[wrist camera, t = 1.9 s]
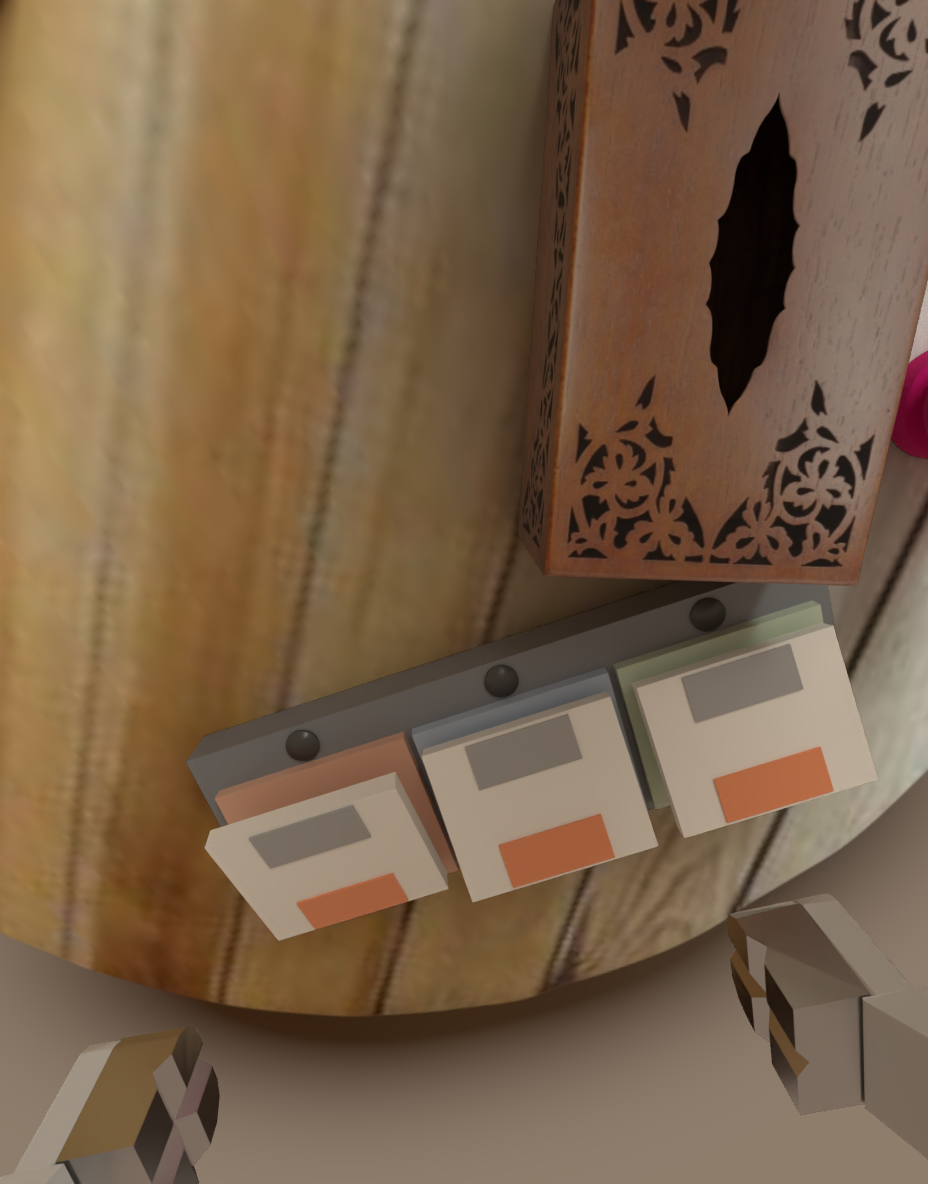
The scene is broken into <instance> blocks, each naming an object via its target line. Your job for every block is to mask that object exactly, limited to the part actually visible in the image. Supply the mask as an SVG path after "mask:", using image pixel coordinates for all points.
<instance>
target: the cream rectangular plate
mask: <svg viewBox="0 0 928 1184" xmlns="http://www.w3.org/2000/svg"><path fill="white" fill-rule="evenodd" d="M421 757H422V760H423V763H424V765H425V768H426V771H427V774H428V777H429V780H430V783H431V785H432V788H433V791H434V794H435V797H436V800H437V803H438V805H439V808H440V811H441V814H442V817H443V820H444V823H445V825H446V828H447V831H448V834H449V837H450V840H451V843H452V845H453V848H454V851H455V854H456V857H457V860H458V863H459V865H460V868H461V871H462V874H463V877H464V880H465V883H466V886H467V888H468V891H469V894H470V897H471V900H472V903H473V902H476V901H480V900H483V899H486V898H489V897H493V896H496V895H499V894H503V893H506V892H509V891H513V890H516V889H519V888H523V887H526V886H529V885H532V884H536V883H539V882H542V881H546V880H549V879H552V878H556V877H559V876H562V875H565V874H569V873H572V872H575V871H579V870H582V869H585V868H589V867H592V866H595V865H598V864H602V863H605V862H608V861H612V860H615V859H618V858H622V857H625V856H628V855H632V854H635V853H638V852H641V851H645V850H648V849H651V848H655V847H658V843H657V840H656V837H655V834H654V831H653V827H652V824H651V821H650V818H649V815H648V812H647V809H646V806H645V803H644V800H643V796H642V793H641V790H640V787H639V784H638V781H637V778H636V775H635V772H634V769H633V765H632V762H631V759H630V756H629V753H628V750H627V747H626V744H625V741H624V738H623V734H622V731H621V728H620V725H619V722H618V719H617V716H616V713H615V710H614V707H613V703H612V700H611V697H610V696H609V694H608V693H607V692H606V691H605V692H602V693H599V694H595V695H592V696H589V697H586V698H583V699H580V700H577V701H573V702H570V703H567V704H564V705H561V706H558V707H555V708H551V709H548V710H545V711H542V712H539V713H536V714H533V715H530V716H526V717H523V718H520V719H517V720H514V721H511V722H508V723H504V724H501V725H498V726H495V727H492V728H489V729H486V730H482V731H479V732H476V733H473V734H470V735H467V736H464V737H460V738H457V739H454V740H451V741H448V742H445V743H442V744H439V745H435V746H432V747H429V748H426V749H423V753H422V756H421Z"/></svg>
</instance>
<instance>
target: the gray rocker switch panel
mask: <svg viewBox="0 0 928 1184" xmlns="http://www.w3.org/2000/svg"><path fill="white" fill-rule="evenodd" d="M818 623H825V624H829V625H833V626H834V621H833V615H832V609H831V603H830V597H829V591H828V585H812V584H780V583H748V582H716V581H684V580H681V581H678V582H675V583H672V584H669V585H666V586H663V587H659V588H656V589H653V590H650V591H647V592H644V593H641V594H638V595H635V596H632V597H629V598H626V599H623V600H620V601H617V602H614V603H611V604H607V605H604V606H601V607H598V608H595V609H592V610H589V611H586V612H583V613H580V614H577V615H574V616H571V617H568V618H565V619H562V620H558V621H555V622H552V623H549V624H546V625H543V626H540V627H537V628H534V629H531V630H528V631H525V632H522V633H519V634H516V635H513V636H510V637H506V638H503V639H500V640H497V641H494V642H491V643H488V644H485V645H482V646H479V647H476V648H473V649H470V650H467V651H464V652H461V653H457V654H454V655H451V656H448V657H445V658H442V659H439V660H436V661H433V662H430V663H427V664H424V665H421V666H418V667H415V668H412V669H409V670H405V671H402V672H399V673H396V674H393V675H390V676H387V677H384V678H381V679H378V680H375V681H372V682H369V683H366V684H363V685H360V686H357V687H353V688H350V689H347V690H344V691H341V692H338V693H335V694H332V695H329V696H326V697H323V698H320V699H317V700H314V701H311V702H308V703H304V704H301V705H298V706H295V707H292V708H289V709H286V710H283V711H280V712H277V713H274V714H271V715H268V716H265V717H262V718H259V719H256V720H252V721H249V722H246V723H243V724H240V725H237V726H234V727H231V728H228V729H225V730H222V731H219V732H216V733H213V734H210V735H207V736H204V737H203V739H202V740H201V741H200V743H199V744H198V746H197V747H196V748H195V750H194V751H193V753H192V754H191V755H190V757H189V758H188V759H187V761H186V763H187V765H188V767H189V768H190V770H191V772H192V774H193V776H194V778H195V780H196V781H197V783H198V785H199V787H200V789H201V791H202V793H203V795H204V796H205V798H206V800H207V802H208V804H209V806H210V808H211V809H212V811H213V813H214V815H215V817H216V819H217V821H218V822H219V824H220V826H221V827H223V826H226V825H229V824H232V823H235V822H239V821H242V820H245V819H248V818H251V817H254V816H257V815H261V814H264V813H267V812H270V811H273V810H276V809H279V808H283V807H286V806H289V805H292V804H295V803H298V802H302V801H305V800H308V799H311V798H314V797H317V796H320V795H324V794H327V793H330V792H333V791H336V790H339V789H342V788H346V787H349V786H352V785H355V784H358V783H361V782H365V781H368V780H371V779H374V778H377V777H380V776H383V775H387V774H390V773H393V772H396V774H397V776H398V778H399V780H400V782H401V784H402V786H403V788H404V789H405V791H406V793H407V795H408V797H409V799H410V801H411V803H412V805H413V807H414V809H415V811H416V813H417V815H418V817H419V819H420V820H421V822H422V824H423V826H424V828H425V830H426V832H427V834H428V836H429V838H430V840H431V842H432V844H433V846H434V848H435V849H436V851H437V853H438V855H439V857H440V859H441V861H442V863H443V865H444V867H445V869H446V871H447V874H449V873H452V872H455V871H458V868H460V865H459V863H458V860H457V857H456V854H455V851H454V848H453V845H452V843H451V840H450V837H449V834H448V831H447V828H446V825H445V823H444V820H443V817H442V814H441V811H440V808H439V805H438V803H437V800H436V797H435V794H434V791H433V788H432V785H431V783H430V780H429V777H428V774H427V771H426V768H425V765H424V763H423V760H422V757H421V756H422V753H423V749H426V748H429V747H432V746H435V745H439V744H442V743H445V742H448V741H451V740H454V739H457V738H460V737H464V736H467V735H470V734H473V733H476V732H479V731H482V730H486V729H489V728H492V727H495V726H498V725H501V724H504V723H508V722H511V721H514V720H517V719H520V718H523V717H526V716H530V715H533V714H536V713H539V712H542V711H545V710H548V709H551V708H555V707H558V706H561V705H564V704H567V703H570V702H573V701H577V700H580V699H583V698H586V697H589V696H592V695H595V694H599V693H602V692H605V691H606V692H607V693H608V694H609V696H610V697H611V700H612V703H613V707H614V710H615V713H616V716H617V719H618V722H619V725H620V728H621V731H622V734H623V738H624V741H625V744H626V747H627V750H628V753H629V756H630V759H631V762H632V765H633V769H634V772H635V775H636V778H637V781H638V784H639V787H640V790H641V793H642V796H643V800H644V803H645V806H646V809H647V812H648V810H650V809H654V808H655V809H656V810H658V809H661V808H664V807H668V806H670V803H669V800H668V797H667V794H666V790H665V787H664V784H663V781H662V778H661V775H660V772H659V768H658V765H657V762H656V759H655V756H654V753H653V750H652V747H651V743H650V740H649V737H648V734H647V731H646V728H645V725H644V721H643V718H642V715H641V712H640V709H639V706H638V703H637V700H636V696H635V693H634V690H633V687H632V684H631V683H633V682H636V681H639V680H642V679H646V678H649V677H652V676H655V675H658V674H661V673H664V672H668V671H671V670H674V669H677V668H680V667H683V666H686V665H690V664H693V663H696V662H699V661H702V660H705V659H708V658H711V657H715V656H718V655H721V654H724V653H727V652H730V651H733V650H737V649H740V648H743V647H746V646H749V645H752V644H755V643H759V642H762V641H765V640H768V639H771V638H774V637H777V636H781V635H784V634H787V633H790V632H793V631H796V630H799V629H802V628H806V627H809V626H812V625H815V624H818ZM834 630H835V627H834Z"/></svg>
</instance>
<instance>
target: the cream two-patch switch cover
mask: <svg viewBox="0 0 928 1184" xmlns="http://www.w3.org/2000/svg"><path fill="white" fill-rule="evenodd" d="M631 684H632V687H633V690H634V693H635V696H636V700H637V703H638V706H639V709H640V712H641V715H642V718H643V721H644V725H645V728H646V731H647V734H648V737H649V740H650V743H651V747H652V750H653V753H654V756H655V759H656V762H657V765H658V768H659V772H660V775H661V778H662V781H663V784H664V787H665V790H666V794H667V797H668V800H669V803H670V806H671V809H672V812H673V815H674V819H675V822H676V825H677V828H678V830H679V831H680V833H681V834H682V836H683V837H684V838H688V837H691V836H694V835H698V834H701V833H704V832H707V831H711V830H714V829H717V828H721V827H724V826H727V825H731V824H734V823H737V822H741V821H744V820H747V819H750V818H754V817H757V816H760V815H764V814H767V813H770V812H774V811H777V810H780V809H783V808H787V807H790V806H793V805H797V804H800V803H803V802H807V801H810V800H813V799H816V798H820V797H823V796H826V795H830V794H833V793H836V792H840V791H843V790H846V789H850V788H853V787H856V786H859V785H863V784H866V783H869V782H873V781H876V780H878V778H877V774H876V771H875V767H874V764H873V760H872V757H871V753H870V750H869V747H868V743H867V740H866V736H865V733H864V729H863V726H862V723H861V719H860V716H859V712H858V709H857V705H856V702H855V698H854V695H853V692H852V688H851V685H850V681H849V678H848V674H847V671H846V668H845V664H844V661H843V657H842V654H841V650H840V647H839V643H838V640H837V637H836V633H835V630H834V626H833V625H829V624H825V623H818V624H815V625H812V626H809V627H806V628H802V629H799V630H796V631H793V632H790V633H787V634H784V635H781V636H777V637H774V638H771V639H768V640H765V641H762V642H759V643H755V644H752V645H749V646H746V647H743V648H740V649H737V650H733V651H730V652H727V653H724V654H721V655H718V656H715V657H711V658H708V659H705V660H702V661H699V662H696V663H693V664H690V665H686V666H683V667H680V668H677V669H674V670H671V671H668V672H664V673H661V674H658V675H655V676H652V677H649V678H646V679H642V680H639V681H636V682H633V683H631Z"/></svg>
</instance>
